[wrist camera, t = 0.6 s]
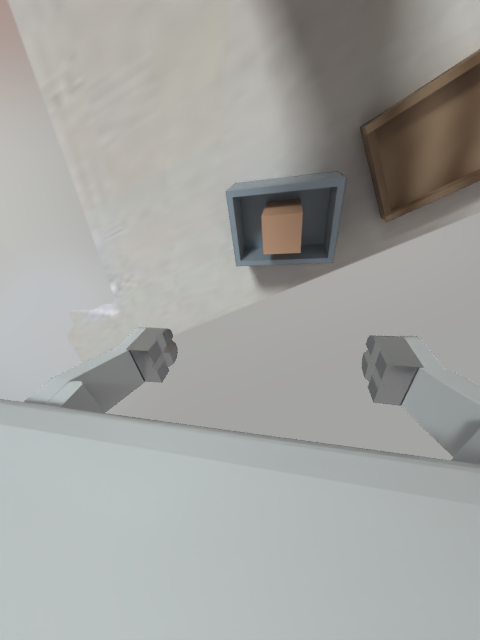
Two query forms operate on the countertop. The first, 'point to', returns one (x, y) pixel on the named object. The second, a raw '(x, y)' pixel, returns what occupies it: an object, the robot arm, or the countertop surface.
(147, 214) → the countertop surface
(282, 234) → the block
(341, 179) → the blue-grey storage bin
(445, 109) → the tray
